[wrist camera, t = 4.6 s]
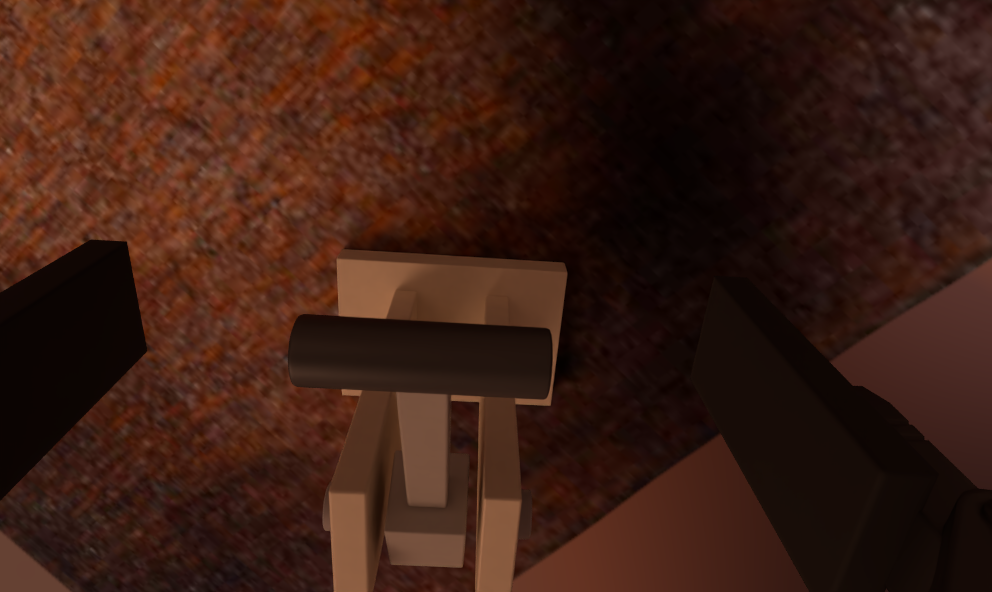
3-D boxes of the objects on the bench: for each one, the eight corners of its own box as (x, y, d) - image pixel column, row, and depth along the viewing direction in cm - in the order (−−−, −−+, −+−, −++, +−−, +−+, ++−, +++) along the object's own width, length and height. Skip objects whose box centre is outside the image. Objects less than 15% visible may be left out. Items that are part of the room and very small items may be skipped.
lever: (304, 280, 13) (275, 382, 11) (551, 295, 13) (555, 396, 11) (356, 486, 20) (343, 563, 19) (509, 493, 20) (508, 570, 19)
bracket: (342, 248, 28) (222, 445, 15) (564, 262, 28) (625, 465, 16) (347, 381, 31) (249, 638, 18) (548, 392, 31) (589, 650, 19)
